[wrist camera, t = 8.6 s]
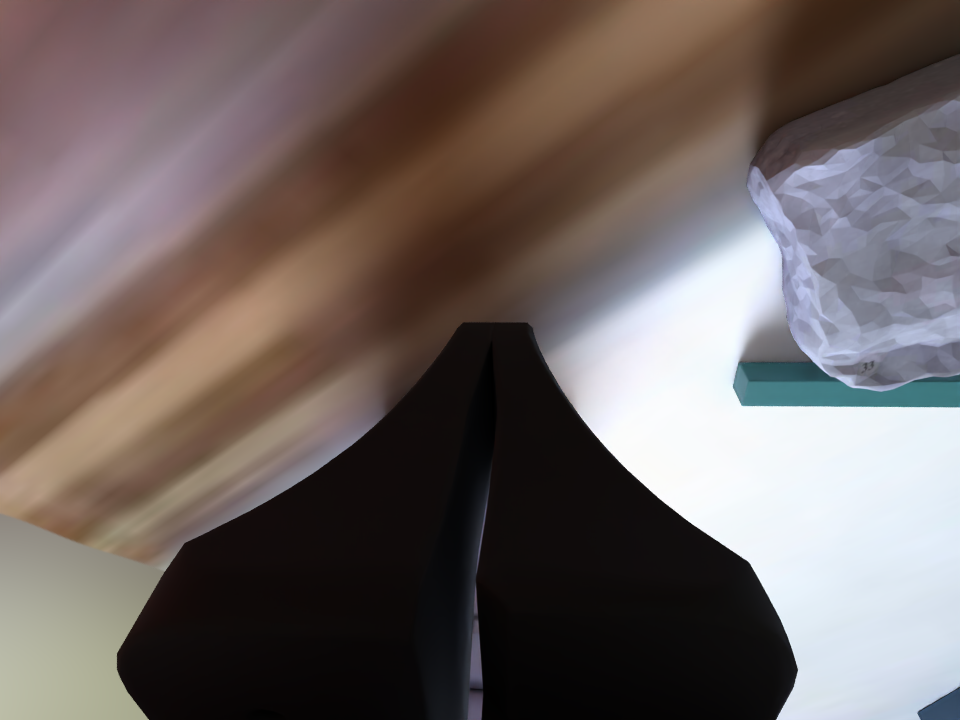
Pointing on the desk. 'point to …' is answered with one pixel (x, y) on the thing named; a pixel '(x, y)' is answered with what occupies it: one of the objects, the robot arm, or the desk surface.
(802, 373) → the frame
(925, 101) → the stone block
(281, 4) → the desk surface
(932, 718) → the watch
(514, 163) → the desk surface
